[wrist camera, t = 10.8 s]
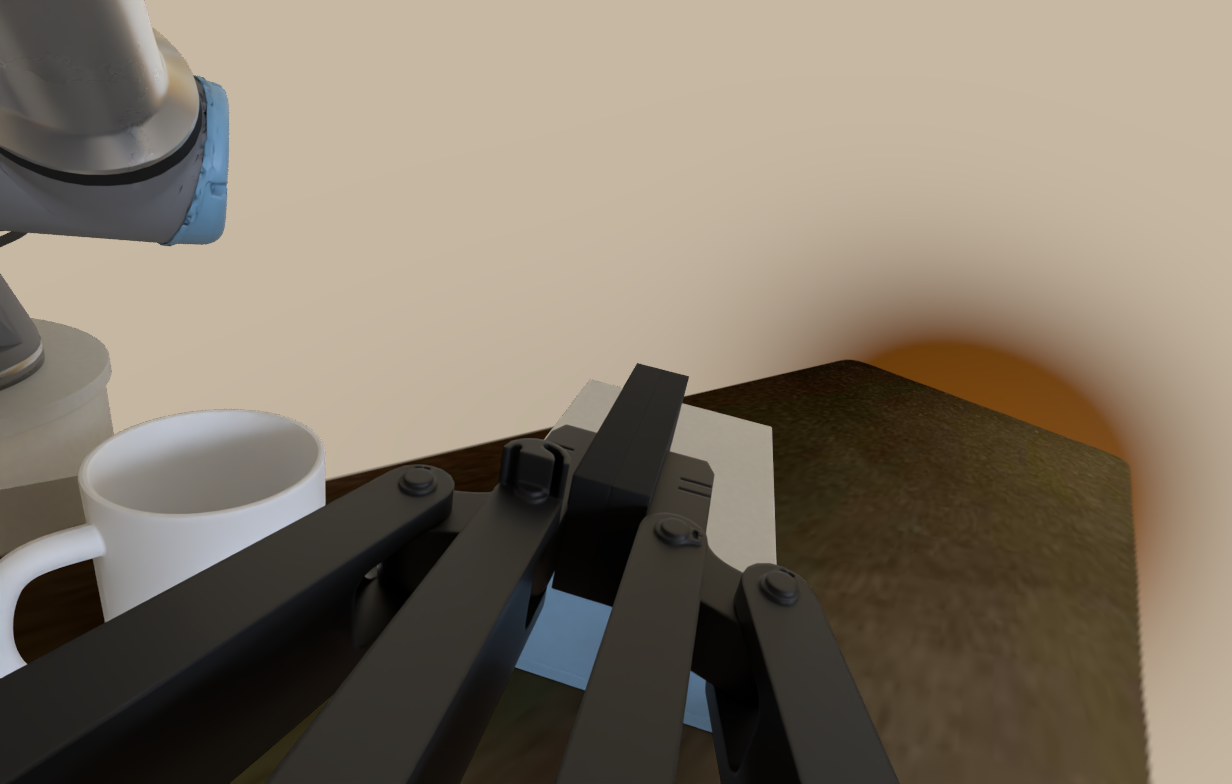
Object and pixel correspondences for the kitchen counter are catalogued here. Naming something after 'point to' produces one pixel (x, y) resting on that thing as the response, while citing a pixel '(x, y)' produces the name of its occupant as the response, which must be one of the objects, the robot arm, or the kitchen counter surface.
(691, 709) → the case
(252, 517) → the cup
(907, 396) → the kitchen counter surface
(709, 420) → the case lid
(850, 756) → the robot arm
